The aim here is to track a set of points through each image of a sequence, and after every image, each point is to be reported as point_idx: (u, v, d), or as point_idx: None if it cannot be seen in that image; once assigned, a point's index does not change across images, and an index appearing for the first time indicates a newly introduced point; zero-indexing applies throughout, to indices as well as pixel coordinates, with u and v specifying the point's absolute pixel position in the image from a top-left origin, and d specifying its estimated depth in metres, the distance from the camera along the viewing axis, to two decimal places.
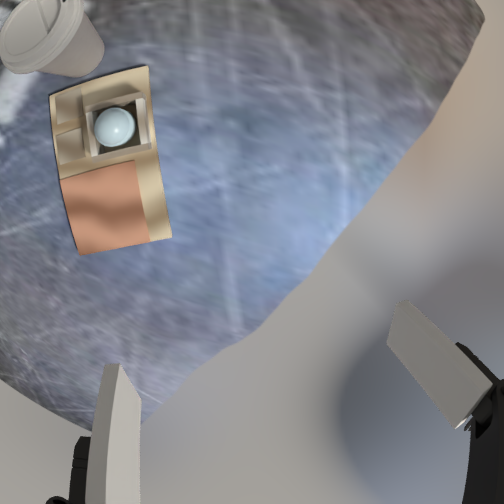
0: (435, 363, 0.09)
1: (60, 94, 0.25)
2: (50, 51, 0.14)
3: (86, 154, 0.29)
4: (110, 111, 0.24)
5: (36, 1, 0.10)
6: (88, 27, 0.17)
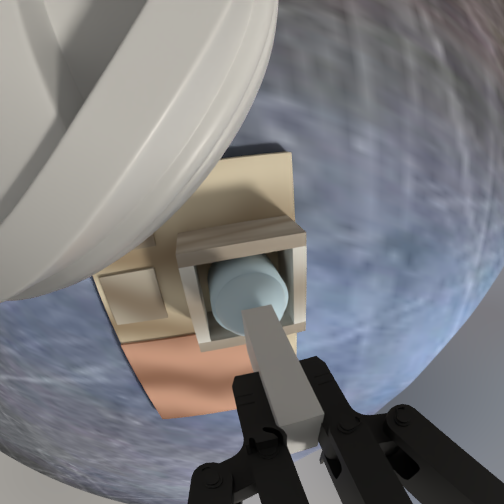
0: None
1: None
2: (113, 246, 0.03)
3: (169, 312, 0.19)
4: (254, 284, 0.14)
5: None
6: None
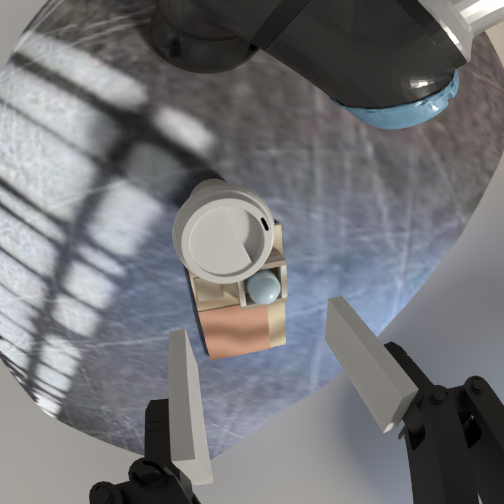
0: (361, 361, 0.10)
1: None
2: None
3: (225, 294, 0.43)
4: (267, 282, 0.37)
5: (225, 211, 0.23)
6: None
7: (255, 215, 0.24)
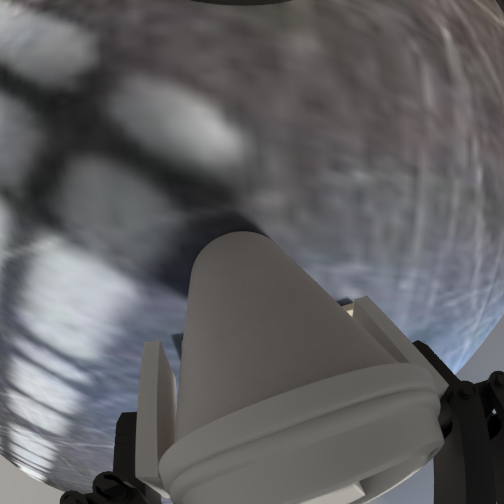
0: None
1: None
2: None
3: None
4: None
5: None
6: None
7: (426, 453, 0.05)
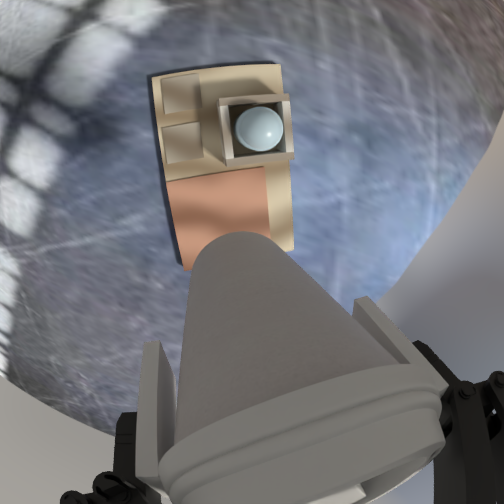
0: None
1: (168, 78, 0.24)
2: None
3: (205, 154, 0.29)
4: (263, 111, 0.23)
5: None
6: None
7: (427, 454, 0.05)
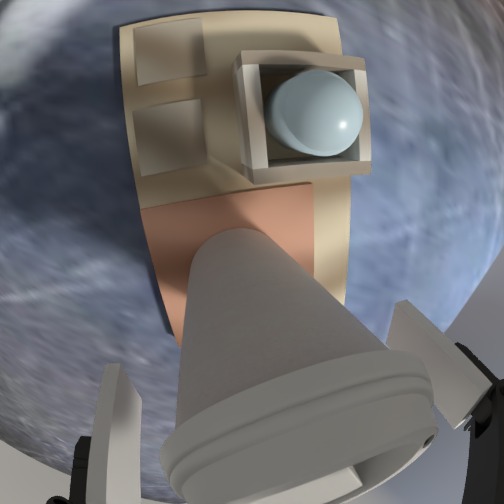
0: (435, 363, 0.09)
1: (147, 26, 0.11)
2: None
3: (209, 159, 0.16)
4: (332, 77, 0.10)
5: None
6: None
7: (421, 440, 0.05)
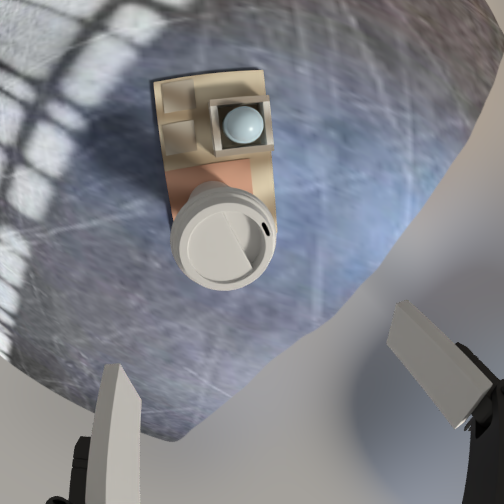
0: (435, 363, 0.09)
1: (167, 83, 0.29)
2: None
3: (198, 147, 0.33)
4: (246, 109, 0.28)
5: (224, 216, 0.22)
6: None
7: (256, 220, 0.23)
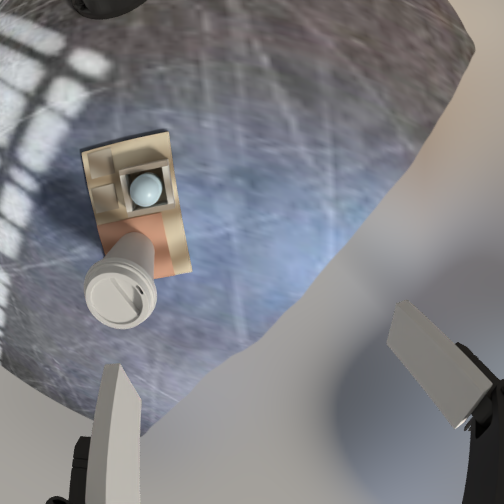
0: (435, 363, 0.09)
1: (91, 152, 0.35)
2: (142, 321, 0.32)
3: (119, 206, 0.40)
4: (143, 179, 0.34)
5: (110, 280, 0.29)
6: (152, 274, 0.36)
7: (131, 283, 0.29)
